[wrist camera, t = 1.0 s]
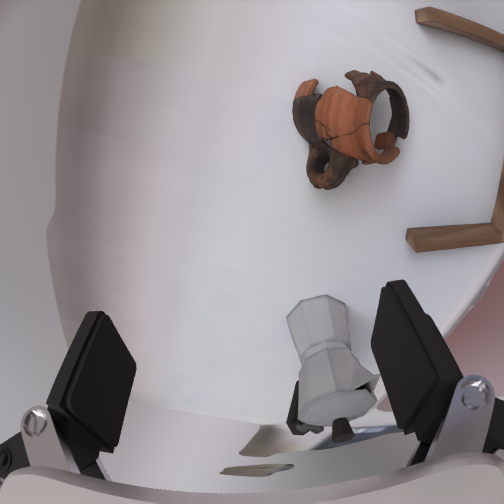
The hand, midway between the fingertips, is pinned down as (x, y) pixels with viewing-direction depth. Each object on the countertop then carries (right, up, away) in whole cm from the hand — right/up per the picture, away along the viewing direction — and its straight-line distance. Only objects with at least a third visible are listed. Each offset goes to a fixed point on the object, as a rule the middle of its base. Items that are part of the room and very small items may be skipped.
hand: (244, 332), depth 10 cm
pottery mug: (+8, +15, +17) cm, 24 cm away
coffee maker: (+9, -7, +31) cm, 33 cm away
